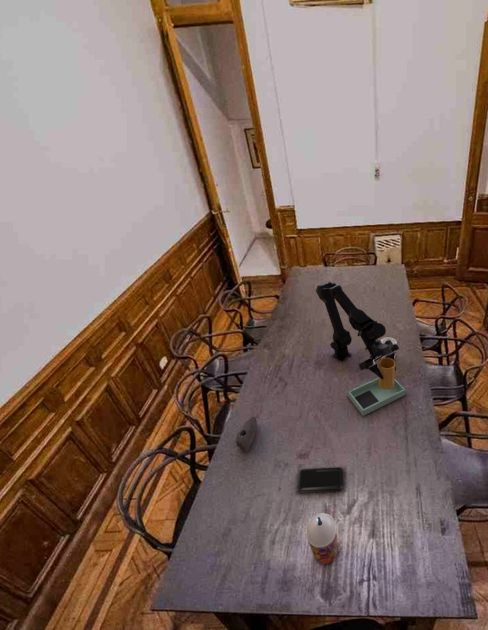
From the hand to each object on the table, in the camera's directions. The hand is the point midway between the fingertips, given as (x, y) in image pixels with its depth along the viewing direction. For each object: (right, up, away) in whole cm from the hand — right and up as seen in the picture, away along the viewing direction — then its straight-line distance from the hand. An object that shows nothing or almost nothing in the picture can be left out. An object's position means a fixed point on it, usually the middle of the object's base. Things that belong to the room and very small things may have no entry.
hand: (388, 374), depth 143 cm
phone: (-26, -32, -26) cm, 48 cm away
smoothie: (-23, -44, -44) cm, 66 cm away
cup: (-1, -5, +5) cm, 7 cm away
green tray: (-5, -10, +5) cm, 12 cm away
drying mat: (-9, -11, +3) cm, 15 cm away
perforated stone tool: (-55, -23, -10) cm, 61 cm away
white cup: (+2, +4, +25) cm, 26 cm away
